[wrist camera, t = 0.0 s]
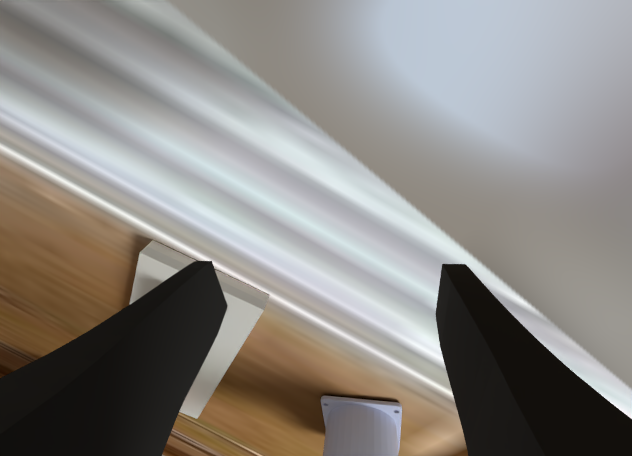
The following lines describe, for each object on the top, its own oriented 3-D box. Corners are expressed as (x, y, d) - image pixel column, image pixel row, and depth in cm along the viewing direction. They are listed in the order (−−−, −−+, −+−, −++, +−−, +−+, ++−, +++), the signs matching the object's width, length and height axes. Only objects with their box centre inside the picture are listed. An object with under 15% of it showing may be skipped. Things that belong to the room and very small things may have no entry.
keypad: (203, 404, 37) (197, 418, 35) (123, 371, 36) (113, 385, 34) (269, 295, 25) (263, 310, 24) (152, 240, 24) (139, 252, 22)
